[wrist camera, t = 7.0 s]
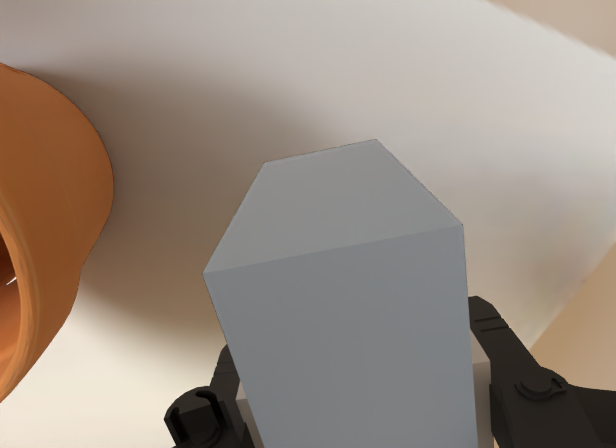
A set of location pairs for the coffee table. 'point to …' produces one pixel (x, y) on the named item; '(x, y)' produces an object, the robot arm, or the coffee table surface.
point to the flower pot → (44, 215)
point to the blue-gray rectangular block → (347, 305)
